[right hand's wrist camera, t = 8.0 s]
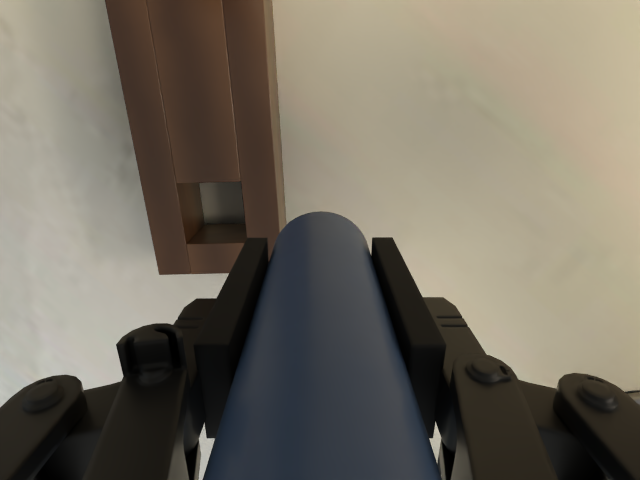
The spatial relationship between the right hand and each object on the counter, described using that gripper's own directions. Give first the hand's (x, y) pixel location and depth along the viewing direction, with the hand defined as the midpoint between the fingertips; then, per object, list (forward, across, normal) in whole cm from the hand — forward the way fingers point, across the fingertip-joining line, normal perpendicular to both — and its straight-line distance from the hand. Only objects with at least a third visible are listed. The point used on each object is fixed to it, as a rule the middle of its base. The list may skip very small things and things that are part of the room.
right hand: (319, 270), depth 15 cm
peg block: (+19, +8, -6) cm, 22 cm away
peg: (+1, 0, 0) cm, 1 cm away
